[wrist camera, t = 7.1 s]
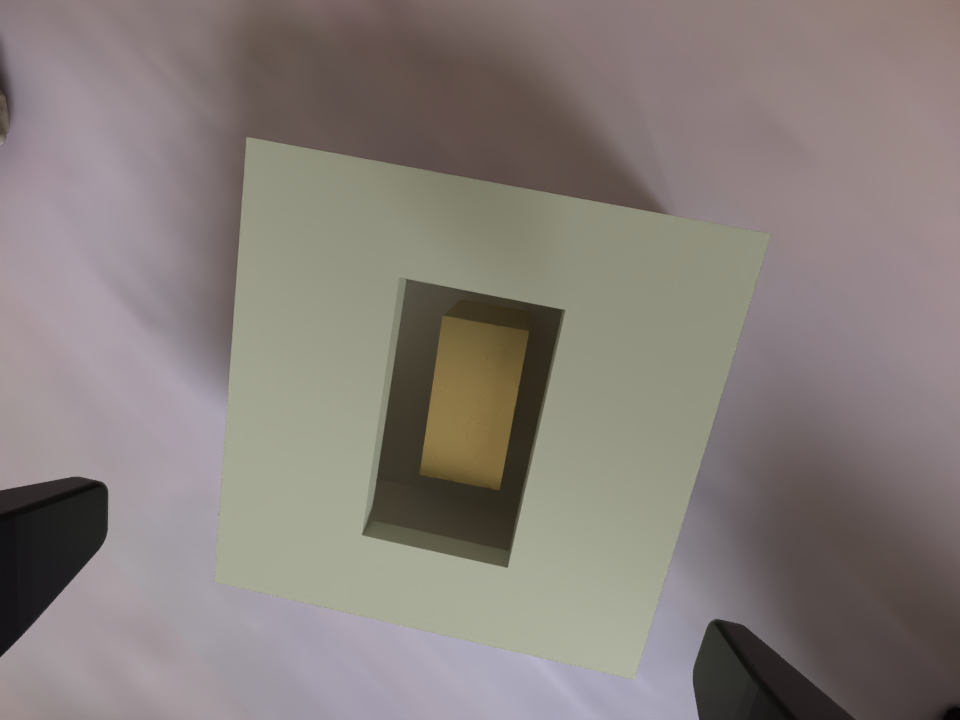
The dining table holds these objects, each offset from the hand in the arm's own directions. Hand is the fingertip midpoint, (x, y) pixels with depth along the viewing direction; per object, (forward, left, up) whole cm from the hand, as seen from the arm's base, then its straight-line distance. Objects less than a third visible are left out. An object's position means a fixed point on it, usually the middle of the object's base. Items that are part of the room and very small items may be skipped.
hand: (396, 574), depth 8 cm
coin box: (0, 0, -13) cm, 13 cm away
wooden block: (0, 0, -12) cm, 12 cm away
